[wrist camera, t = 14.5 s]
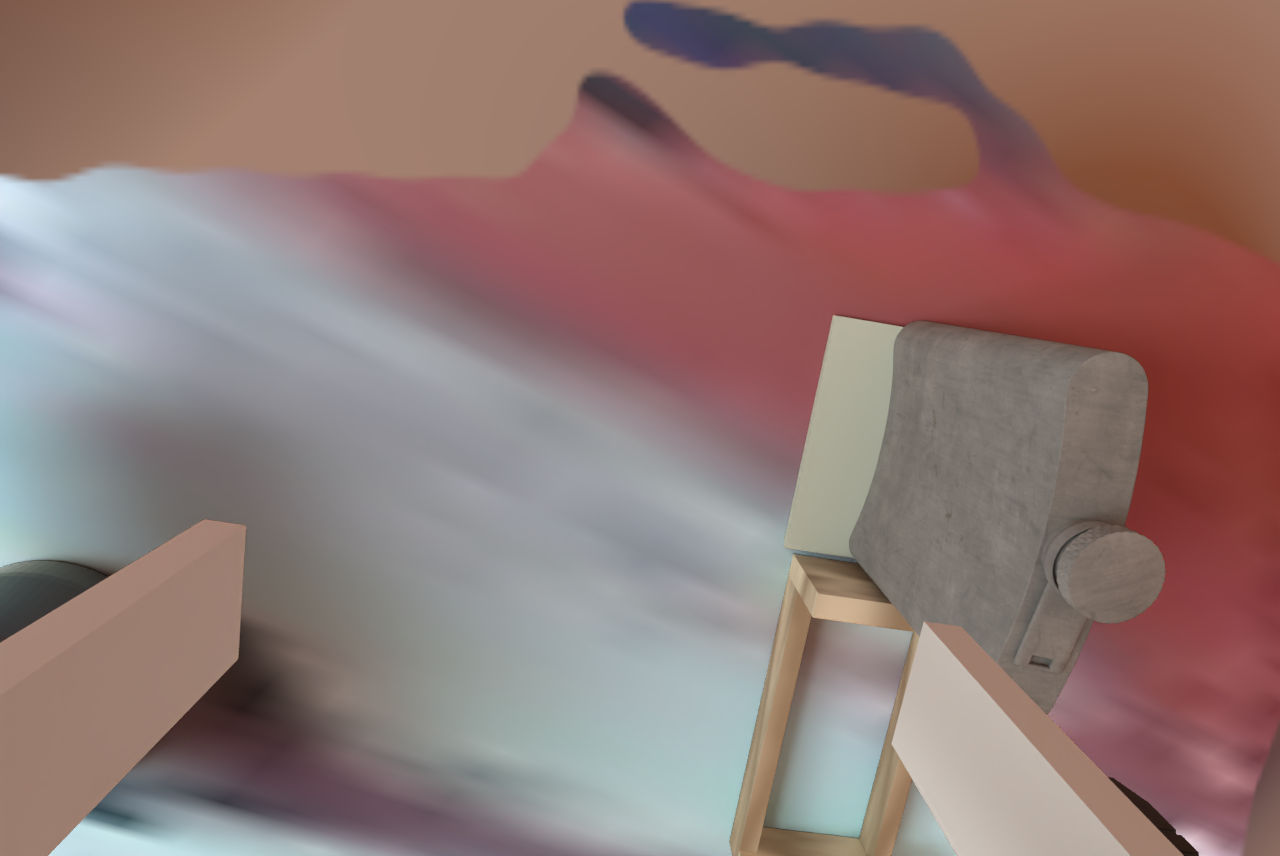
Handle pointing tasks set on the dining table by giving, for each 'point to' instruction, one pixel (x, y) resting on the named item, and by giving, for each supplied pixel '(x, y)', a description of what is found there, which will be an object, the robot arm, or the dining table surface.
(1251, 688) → the dining table surface
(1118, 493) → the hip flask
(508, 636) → the dining table surface
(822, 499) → the mat
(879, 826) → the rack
